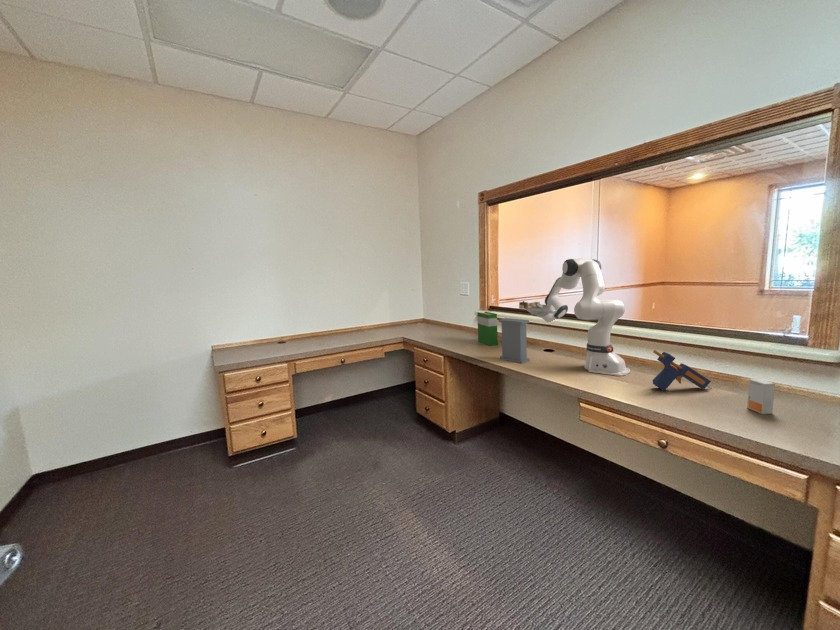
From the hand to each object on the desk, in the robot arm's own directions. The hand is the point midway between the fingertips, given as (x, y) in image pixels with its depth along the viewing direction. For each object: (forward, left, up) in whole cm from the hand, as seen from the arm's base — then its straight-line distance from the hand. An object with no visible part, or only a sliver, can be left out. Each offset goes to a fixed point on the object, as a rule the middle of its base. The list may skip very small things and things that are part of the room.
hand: (534, 303), depth 230 cm
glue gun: (-86, +17, -34) cm, 94 cm away
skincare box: (-113, +25, -34) cm, 121 cm away
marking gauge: (0, +5, -2) cm, 6 cm away
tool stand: (0, +23, -34) cm, 41 cm away
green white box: (+44, -4, -34) cm, 56 cm away
